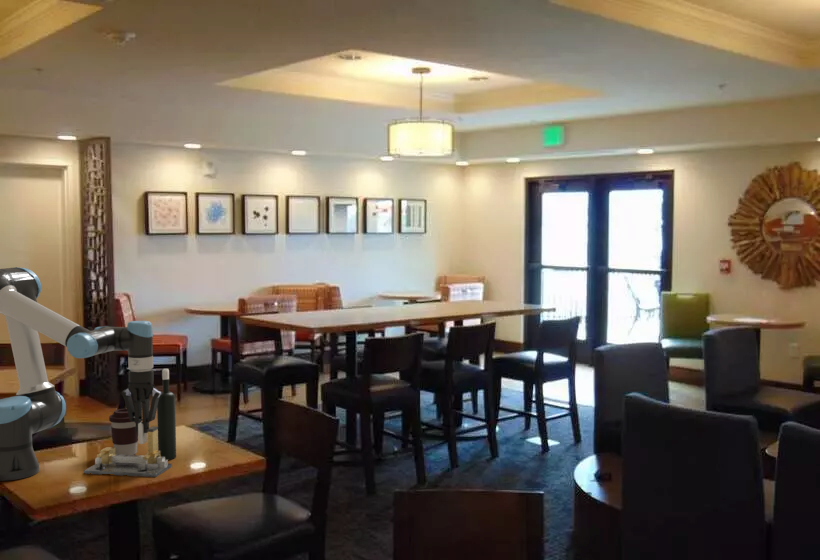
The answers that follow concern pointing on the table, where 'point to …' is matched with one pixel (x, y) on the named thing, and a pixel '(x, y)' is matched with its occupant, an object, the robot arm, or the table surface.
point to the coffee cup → (123, 433)
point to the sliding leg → (151, 447)
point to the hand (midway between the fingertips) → (142, 442)
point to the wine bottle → (166, 420)
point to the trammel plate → (126, 464)
